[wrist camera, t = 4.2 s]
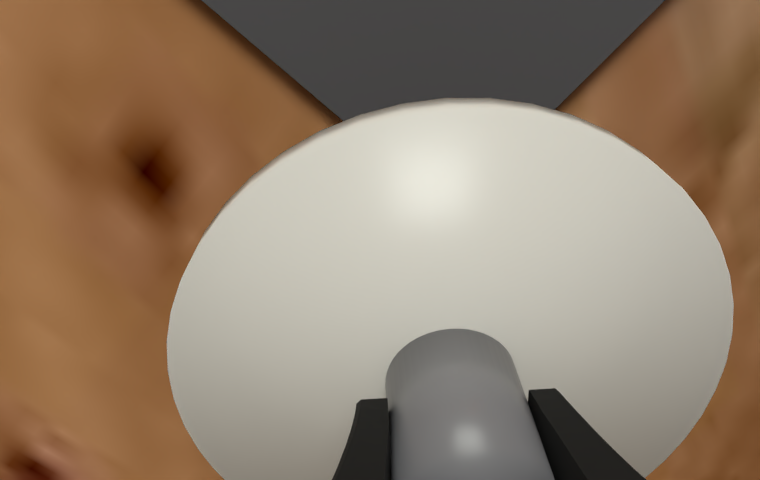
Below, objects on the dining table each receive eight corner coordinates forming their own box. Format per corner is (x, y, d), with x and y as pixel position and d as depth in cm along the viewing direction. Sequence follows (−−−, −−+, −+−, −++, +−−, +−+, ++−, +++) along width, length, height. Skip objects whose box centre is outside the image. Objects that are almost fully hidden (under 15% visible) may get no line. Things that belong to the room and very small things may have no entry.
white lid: (817, 334, 15) (973, 477, 11) (446, 580, 20) (468, 741, 16) (445, -59, 11) (496, -43, 7) (72, 384, 15) (-24, 544, 11)
